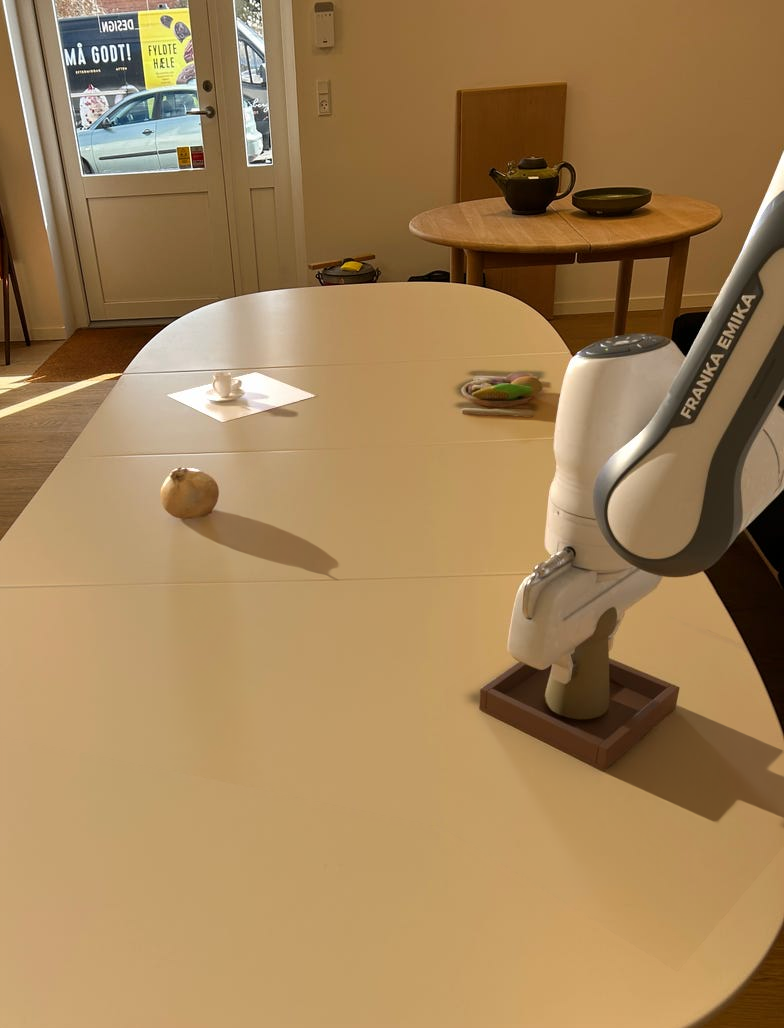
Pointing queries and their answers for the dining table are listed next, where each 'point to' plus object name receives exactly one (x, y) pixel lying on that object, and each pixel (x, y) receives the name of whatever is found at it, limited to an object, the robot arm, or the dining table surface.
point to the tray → (590, 740)
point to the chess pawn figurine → (586, 676)
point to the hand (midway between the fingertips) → (582, 664)
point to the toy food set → (501, 393)
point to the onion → (189, 493)
